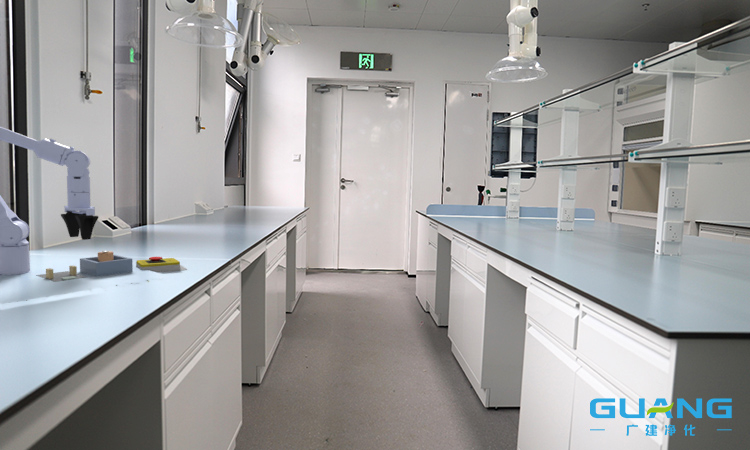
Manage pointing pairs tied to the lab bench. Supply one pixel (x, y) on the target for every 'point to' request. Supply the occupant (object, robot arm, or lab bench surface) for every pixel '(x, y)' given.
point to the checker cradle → (62, 274)
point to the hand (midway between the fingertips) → (80, 238)
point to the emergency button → (160, 264)
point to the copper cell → (105, 256)
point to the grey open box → (106, 266)
